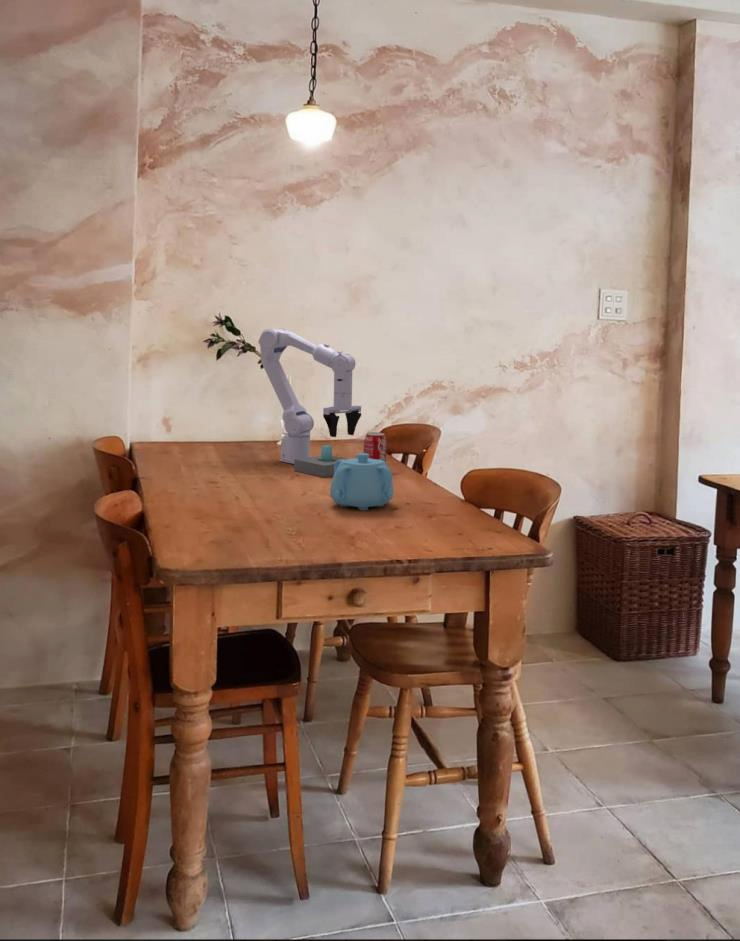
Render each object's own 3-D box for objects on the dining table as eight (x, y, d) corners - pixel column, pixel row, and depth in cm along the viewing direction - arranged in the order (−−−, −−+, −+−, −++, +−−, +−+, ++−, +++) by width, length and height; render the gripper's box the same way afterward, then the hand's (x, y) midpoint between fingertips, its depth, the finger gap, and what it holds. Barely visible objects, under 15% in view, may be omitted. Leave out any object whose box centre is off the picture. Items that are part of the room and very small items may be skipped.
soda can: (386, 470, 291) (387, 432, 289) (384, 474, 284) (385, 435, 282) (364, 469, 292) (365, 431, 290) (361, 473, 285) (362, 434, 283)
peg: (318, 471, 286) (319, 445, 285) (326, 470, 288) (327, 445, 287) (325, 473, 284) (326, 447, 282) (334, 471, 286) (334, 446, 285)
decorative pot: (332, 498, 248) (333, 448, 245) (392, 499, 247) (393, 449, 245) (328, 511, 232) (329, 457, 229) (392, 513, 231) (393, 459, 229)
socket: (294, 470, 286) (294, 459, 286) (328, 466, 296) (328, 455, 295) (324, 477, 276) (324, 465, 276) (358, 472, 286) (358, 461, 285)
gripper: (334, 395, 284) (333, 439, 286) (368, 393, 294) (367, 435, 296) (319, 393, 289) (318, 436, 291) (353, 391, 299) (352, 432, 301)
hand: (341, 435), depth 294 cm, fingers open, 7 cm apart
